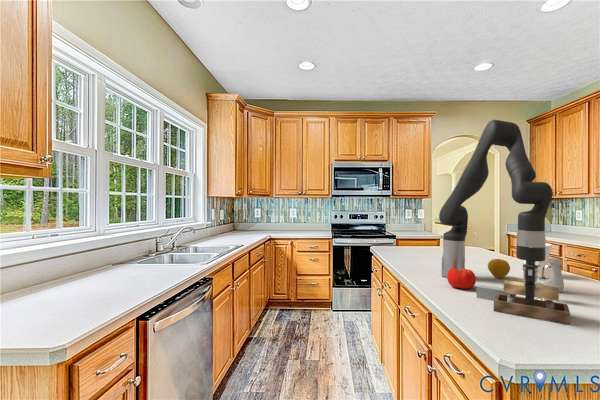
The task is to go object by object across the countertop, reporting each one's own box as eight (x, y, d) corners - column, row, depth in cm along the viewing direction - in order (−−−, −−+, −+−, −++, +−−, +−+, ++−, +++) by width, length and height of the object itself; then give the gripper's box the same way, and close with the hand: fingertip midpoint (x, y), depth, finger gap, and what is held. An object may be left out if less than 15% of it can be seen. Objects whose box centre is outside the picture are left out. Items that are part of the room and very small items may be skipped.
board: (503, 292, 105) (503, 283, 105) (504, 288, 109) (504, 280, 109) (558, 300, 97) (558, 290, 97) (557, 296, 101) (557, 287, 101)
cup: (558, 278, 149) (559, 245, 149) (531, 278, 149) (532, 245, 149) (539, 272, 162) (539, 241, 161) (514, 272, 162) (514, 241, 162)
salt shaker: (567, 293, 125) (568, 260, 125) (550, 292, 126) (551, 259, 126) (558, 289, 131) (559, 257, 131) (542, 288, 132) (543, 256, 132)
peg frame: (493, 311, 104) (493, 297, 104) (496, 303, 113) (496, 290, 112) (570, 325, 93) (570, 309, 93) (566, 315, 101) (567, 300, 101)
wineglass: (549, 297, 119) (550, 265, 119) (556, 302, 114) (556, 268, 114) (531, 296, 121) (531, 264, 121) (537, 300, 116) (537, 267, 116)
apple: (488, 274, 156) (488, 255, 156) (510, 277, 151) (510, 258, 151) (486, 278, 149) (486, 258, 149) (509, 281, 143) (509, 261, 143)
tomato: (447, 289, 129) (448, 270, 129) (446, 282, 140) (446, 265, 140) (477, 292, 126) (478, 273, 125) (474, 285, 136) (474, 267, 136)
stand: (476, 297, 119) (476, 286, 119) (477, 294, 122) (478, 284, 122) (515, 304, 112) (515, 292, 112) (516, 301, 115) (516, 289, 115)
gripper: (517, 241, 111) (516, 290, 111) (515, 246, 99) (514, 301, 99) (544, 243, 106) (543, 294, 107) (546, 248, 95) (545, 306, 95)
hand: (529, 297), depth 103 cm, fingers closed on board, 5 cm apart
